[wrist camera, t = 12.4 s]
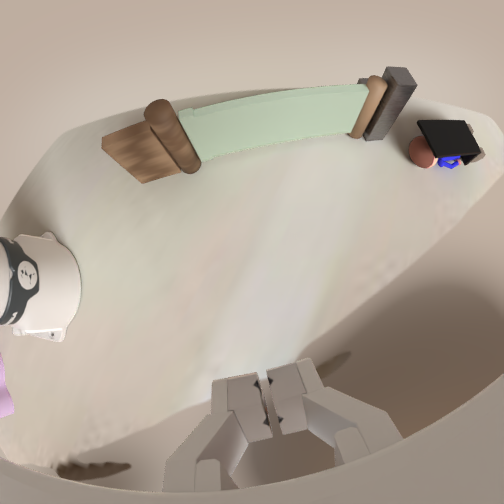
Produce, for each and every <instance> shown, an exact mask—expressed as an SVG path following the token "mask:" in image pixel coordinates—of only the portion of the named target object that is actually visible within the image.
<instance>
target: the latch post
mask: <svg viewBox="0 0 504 504" xmlns="http://www.w3.org/2000/svg"><path fill="white" fill-rule="evenodd" d="M382 78H383V79H384V80H385V81H386V83H387V88H386V90H385V92H384V94H383V96H382V98H381V100H380V102H379V104H378V106H377V108H376V110H375V112H374V114H373V116H372V118H371V120H370V121H369V123H368V125H367V127H366V129H365V131H364V133H363V135H364V137H365V140H366V141H374V140H383V138H384V137H385V135H386V134H387V132H388V131H389V129H390V128H391V126H392V125H393V123H394V121H395V120H396V118H397V117H398V115H399V114H400V112H401V111H402V109H403V108H404V106H405V104H406V103H407V101H408V100H409V98H410V97H411V95H412V93H413V92H414V90H415V89H416V87H417V84H416V82H415V81H414V79H413V77H412V76H411V74H410V73H409V71H408V70H407V68H403V67H402V68H401V67H386V69H385V72H384V74H383V76H382ZM368 79H369V78H362V79H359V80H358V83H357V84H367V81H368Z"/></svg>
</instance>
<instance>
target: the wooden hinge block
mask: <svg viewBox="0 0 504 504" xmlns="http://www.w3.org/2000/svg"><path fill="white" fill-rule="evenodd" d="M144 117H145V119H146V121H143V122H140V123H137V124H135V125H132V126H129V127H127V128H124V129H121V130H119V131H116V132H114V133H112V134H109V135H107V136H104V137H102V149H103V150H104V151H105V152H106V153H107V154H109V155H110V156H111V157H112V158H113V159H114V160H115V161H116V162H118V163H119V164H120V165H121V166H122V167H123V168H125V169H126V170H127V171H128V172H129V173H130V174H131V175H133V176H134V177H135V178H136V179H137V180H138V181H139V182H141V183H142V184H143V183H146V182H150V181H153V180H156V179H159V178H163V177H166V176H170V175H173V174H177V173H180V172H181V169H182V170H183V172H185V173H187V174H192V173H195V172H197V171H198V170H199V168H200V166H201V161H200V159H199V157H198V155H197V153H196V151H195V149H194V147H193V145H192V144H191V142H190V140H189V138H188V136H187V134H186V132H185V131H184V129H183V127H182V125H181V123H180V121H179V119H178V118H177V116H176V114H175V112H174V110H173V108H172V106H171V105H170V103H169V101H167V100H164V99H159V100H156V101H154V102H152V103H150V104H149V105H148V106H147V107H146V109H145V111H144Z"/></svg>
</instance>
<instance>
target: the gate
mask: <svg viewBox="0 0 504 504" xmlns="http://www.w3.org/2000/svg"><path fill="white" fill-rule="evenodd" d="M386 88H387V83H386V81H385V80H384V79H383V78H381V77H379V76H375V75H373V76H370V77H369V79H368V81H367V84H352V85H351V84H350V85H334V86H321V87H311V88H301V89H293V90H286V91H279V92H272V93H266V94H261V95H255V96H250V97H245V98H240V99H235V100H230V101H226V102H222V103H217V104H213V105H209V106H205V107H201V108H198V109H194V110H193V108H192V107H191V108H187V109H184V110H181V111H178V114H179V120H180V122H181V124H182V126H183V128H184V130H185V131H186V133H187V135H188V137H189V139H190V141H191V143H192V144H193V146H194V148H195V150H196V152H197V154H198V156H199V158H200V159H201V161H202V162H204V161H208V160H212V159H213V157H217V156H221V155H225V154H230V153H234V152H238V151H243V150H248V149H252V148H257V147H262V146H267V145H272V144H278V143H283V142H289V141H295V140H301V139H307V138H314V137H321V136H328V135H336V134H344V133H348V134H349V135H350V136H351V137H352V138H355V139H358V138H361V137H362V135H363V133H364V131H365V129H366V127H367V125H368V123H369V121H370V120H371V118H372V116H373V114H374V112H375V110H376V108H377V106H378V104H379V102H380V100H381V98H382V96H383V94H384V92H385V90H386Z"/></svg>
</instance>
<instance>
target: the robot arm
mask: <svg viewBox="0 0 504 504" xmlns="http://www.w3.org/2000/svg"><path fill="white" fill-rule="evenodd" d="M80 295H81V279H80V273H79V269H78V265H77V263H76V260H75V258H74V257H73V255H72V253H71V252H70V251H69V250H68V249H67V248H66V247H64V246H63V245H61V244H60V243H58V241H57V239H56V238H55V236H54V234H53V233H52V232H45V233H44V234H42V235H41V236H40V237H36V236H30V235H25V234H19V235H18V237H16V238H14V239H13V240H10V239H8V238H5V237H0V326H5V325H10V326H12V334H13V335H18V336H20V335H32V336H35V337H39V338H43V339H47V340H51V341H55V342H62V341H63V340H64V337H65V334H66V329H67V326H68V324H69V323H70V322H71V320H72V319H73V317H74V316H75V314H76V311H77V309H78V306H79V302H80ZM53 333H54V334H53ZM266 372H267V377H268V380H269V383H270V390H271V394H272V399H273V403H274V406H275V410H276V413H277V415H278V419H279V423H280V427H281V429H282V432H283V435H285V434H289V433H293V432H298V431H302V430H306V429H308V430H309V431H311V432H312V433H314V434H315V435H316V436H318V437H319V438H321V439H322V440H324V441H325V442H326V443H328V444H329V445H331V446H332V447H333V448H335V467H334V468H331V469H328V470H325V471H321V472H318V473H314V474H311V475H307V476H303V477H300V478H295V479H291V480H287V481H282V482H277V483H272V484H267V485H262V486H255V487H248V488H241V489H239V488H238V486H237V485H236V484H235V482H234V481H233V480H232V478H231V477H230V476H231V475H232V473H233V471H234V469H235V468H236V466H237V464H238V462H239V460H240V459H241V457H242V455H243V453H244V451H245V449H246V448H247V446H248V443H249V442H254V441H259V440H263V439H267V438H271V437H273V435H272V429H271V424H270V421H269V418H268V409H267V405H266V400H265V397H264V394H263V390H262V389H261V385H260V380H259V377H258V374H257V372H254V373H249V374H244V375H239V376H234V377H228V378H224V379H218V380H213V382H212V396H211V414H209V415H206V416H205V417H204V419H203V420H202V421H201V422H200V423H199V425H198V426H197V427H196V428H195V429H194V431H192V433H191V434H190V435H189V436H188V437H187V438H186V440H185V441H184V442H183V443H182V444H181V445H180V446H179V447H178V449H177V450H176V451H175V452H174V453H173V454H172V455H171V456H170V457H169V458H168V459H167V461H166V466H165V473H164V481H163V489H162V492H144V491H143V492H142V491H132V490H131V491H130V490H122V489H114V488H107V487H101V486H95V485H90V484H84V483H80V482H75V481H71V480H67V479H63V478H59V477H55V476H52V475H48V474H45V473H41V472H38V471H35V470H32V469H29V468H26V467H24V466H21V465H18V464H16V463H13V462H11V461H8V460H6V459H3V458H1V457H0V504H504V373H503V375H501V376H500V377H499V378H497V380H495V381H494V382H493V383H491V384H490V385H489V386H488V387H486V388H485V389H484V390H482V391H481V392H480V393H478V394H477V395H476V396H475V397H473V398H472V399H470V400H469V401H467V402H466V403H465V404H463V405H461V406H460V407H458V408H457V409H455V410H454V411H452V412H451V413H450V414H448V415H446V416H444V417H443V418H441V419H440V420H438V421H436V422H435V423H433V424H432V425H429V426H428V427H426V428H424V429H422V430H420V431H419V432H417V433H415V434H413V435H411V436H409V437H407V438H405V439H403V438H402V436H401V435H400V433H399V431H398V430H397V428H396V427H395V425H394V423H393V422H392V420H391V419H390V417H389V415H388V414H387V412H385V411H383V410H381V409H378V408H376V407H373V406H371V405H369V404H366V403H364V402H361V401H359V400H357V399H355V398H352V397H350V396H348V395H346V394H343V393H341V392H339V391H337V390H335V389H333V388H331V387H326V388H324V386H323V384H322V382H321V380H320V378H319V375H318V373H317V371H316V369H315V367H314V365H313V362H312V360H311V359H310V358H306V359H302V360H299V361H296V362H294V363H290V364H286V365H283V366H279V367H275V368H271V369H267V370H266Z"/></svg>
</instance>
